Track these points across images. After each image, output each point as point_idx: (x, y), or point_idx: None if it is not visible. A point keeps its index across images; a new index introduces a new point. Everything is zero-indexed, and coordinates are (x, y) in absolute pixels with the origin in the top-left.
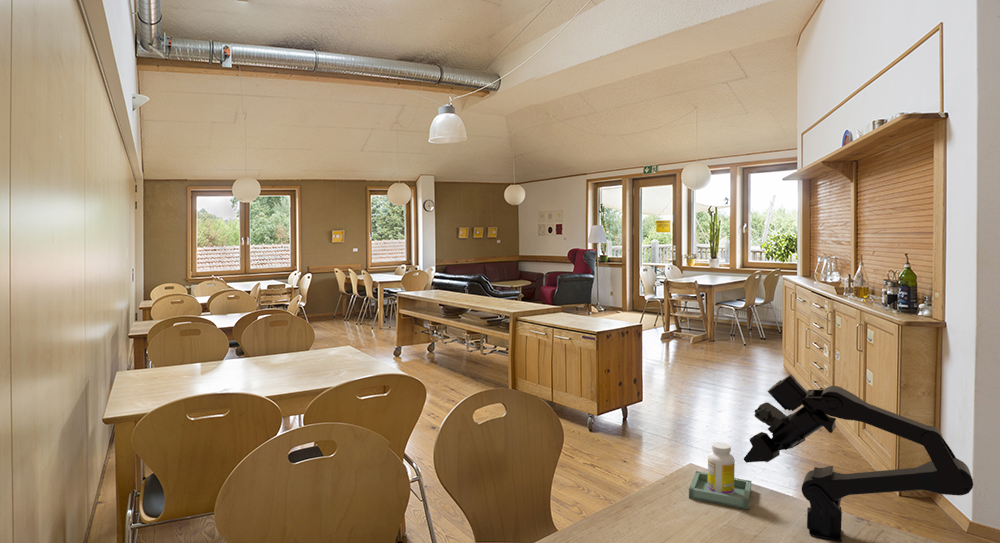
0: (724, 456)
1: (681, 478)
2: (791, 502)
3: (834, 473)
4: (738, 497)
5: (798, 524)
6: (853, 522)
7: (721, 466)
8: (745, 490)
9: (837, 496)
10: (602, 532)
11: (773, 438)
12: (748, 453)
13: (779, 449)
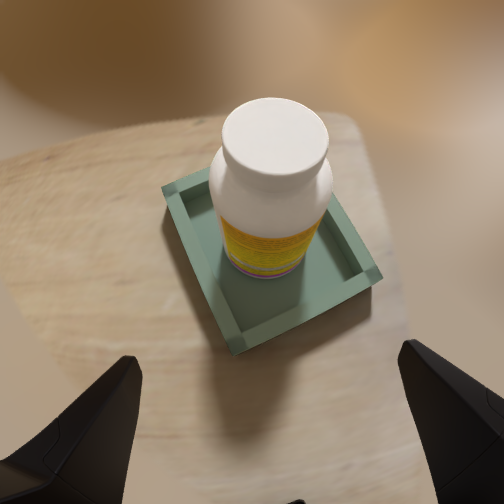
0: (246, 190)
1: None
2: (390, 404)
3: None
4: (226, 322)
5: (271, 486)
6: None
7: (218, 214)
8: (299, 308)
9: None
10: None
11: (484, 435)
12: (72, 408)
13: (431, 467)
